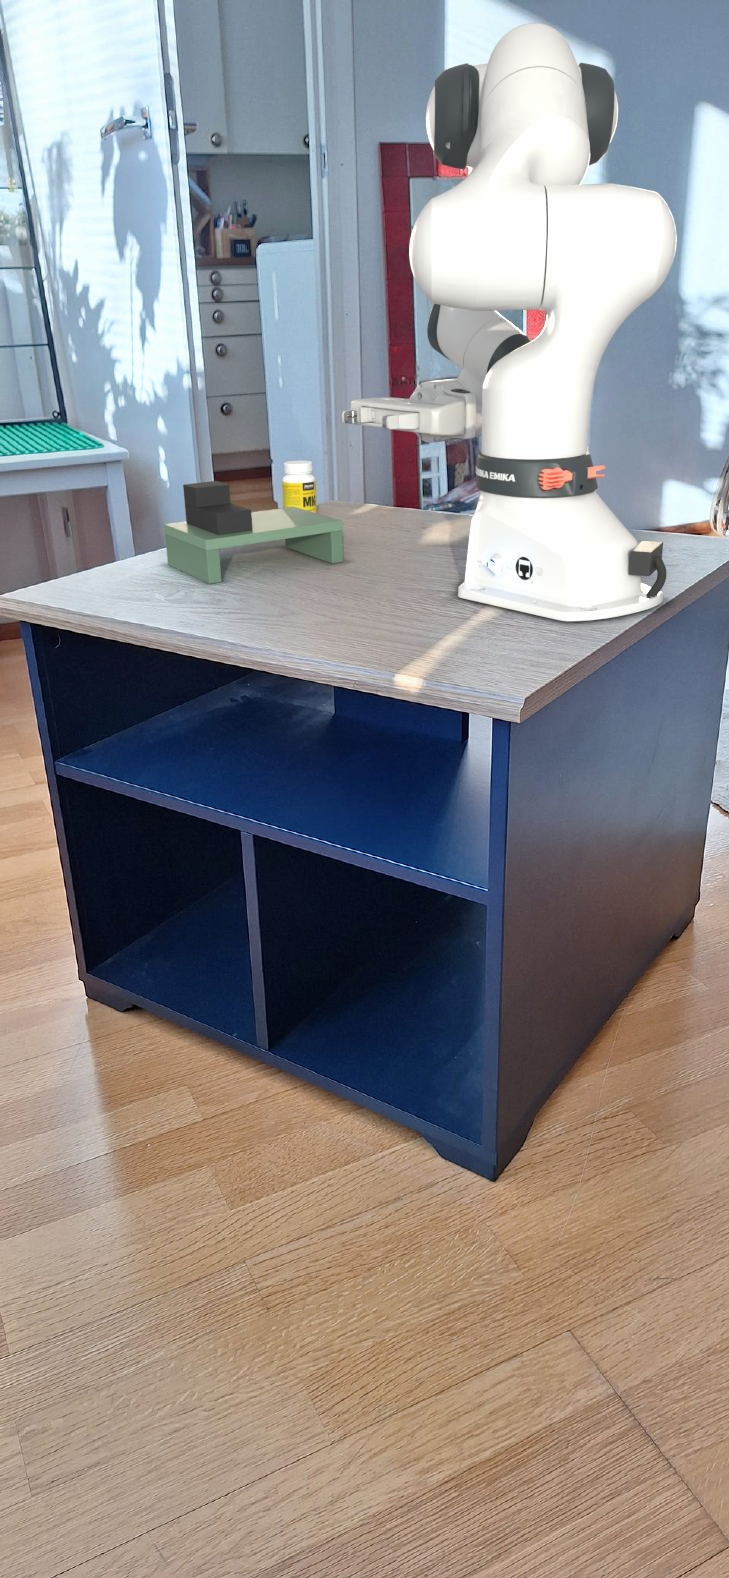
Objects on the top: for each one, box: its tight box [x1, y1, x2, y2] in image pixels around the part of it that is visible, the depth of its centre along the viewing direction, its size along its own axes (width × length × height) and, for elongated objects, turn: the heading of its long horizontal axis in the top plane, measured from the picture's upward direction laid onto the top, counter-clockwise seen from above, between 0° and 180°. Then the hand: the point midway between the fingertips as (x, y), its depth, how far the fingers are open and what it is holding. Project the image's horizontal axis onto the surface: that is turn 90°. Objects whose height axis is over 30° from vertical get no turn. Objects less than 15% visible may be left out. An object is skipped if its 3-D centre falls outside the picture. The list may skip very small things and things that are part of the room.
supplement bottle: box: [281, 459, 318, 514], centre depth 158 cm, size 5×5×8 cm
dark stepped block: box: [182, 480, 252, 535], centre depth 131 cm, size 9×4×5 cm, turn 32°
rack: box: [163, 507, 344, 585], centre depth 135 cm, size 12×18×5 cm, turn 122°
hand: (364, 420), depth 161 cm, fingers open, 8 cm apart
